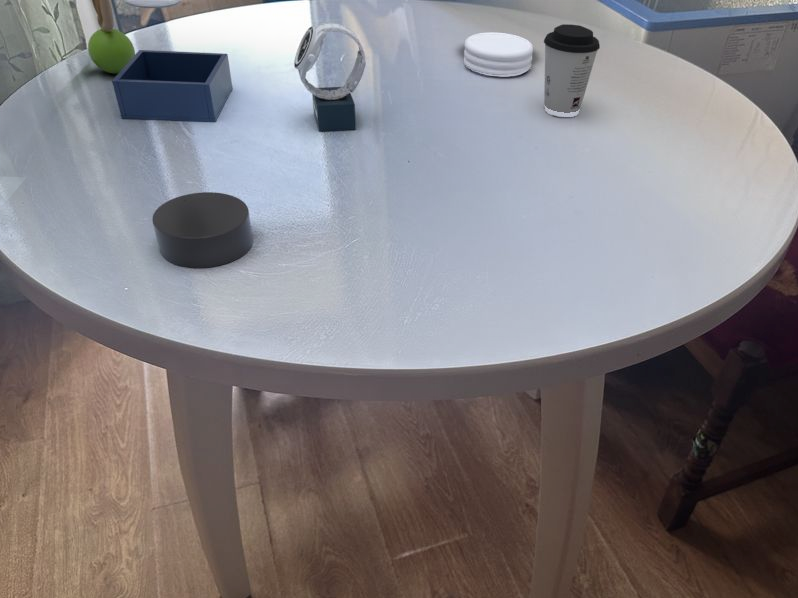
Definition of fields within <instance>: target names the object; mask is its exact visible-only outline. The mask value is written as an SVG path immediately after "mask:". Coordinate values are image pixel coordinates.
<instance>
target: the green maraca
mask: <svg viewBox="0 0 798 598" xmlns="http://www.w3.org/2000/svg"><path fill="white" fill-rule="evenodd" d="M91 3H92V5H93V8H94V10H95V13H96V15H97V16H96V19H97V24H98V26H99V28H100V29H97V30H96V31H94V32H93V34H92V35H91V36H90V38H89V40H88V43H87V46H88V47H87V49H88V51H87V52H88V55H89V57H90V59H91V61H92V62H93V64H94V65H95V66H96V67H97V68H99V69H100V70H102V71H103V72H105V73H108V74H115V75H118V73H119V72H120V71H121V70H122V69H123V68H124V67H125V66H126V64H127V63H128V62H129V61H130V60H131V59H132V58H133V57H134V55H135V54H136V51H135V46H134V45H133V42H132V40H131V39H130V38H129V37H128V36H127V34H125V33H124V32H122V31H120V30H118V29H115V28H114V27H115V22H114V13H113V8H112V5H111V1H110V0H91Z"/></svg>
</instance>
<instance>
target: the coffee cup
mask: <svg viewBox="0 0 798 598" xmlns="http://www.w3.org/2000/svg"><path fill="white" fill-rule="evenodd" d="M543 43H544V44H545V45H544V46H545V48H544V94H543V98H544V99H543V106H544V105H545V106H546V107H547V108H548V109H551V110H553V111H557V112H564V113H570V112H576V111H578V110H579V109H580V110H581V109H582V104H583V101H584V97H585V94H586V92H587V91H586V90H587V87H588V84H589V80H590V77H591V73H592V70H593V66H594V63H595V60H596V56H597V53H598V50H599V49H601V45H600V41H599V39H598V38H597V37H595V36H594V32H593V30H591V29H590V28H587V27H585V26H583V25H578V24H569V23H568V24H567V23H566V24H559V25H557V26H556V27H554V29H553V31H551V32H549V33H547V34H546V36H545V37H544V39H543Z"/></svg>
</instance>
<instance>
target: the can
mask: <svg viewBox="0 0 798 598" xmlns="http://www.w3.org/2000/svg"><path fill="white" fill-rule="evenodd" d="M123 1H124V2H125V3H126V4H127V5H129V6H132V7H136V8H141V9H165V8H171V7H176V6H178V5H180V4H181V2H182V0H123Z"/></svg>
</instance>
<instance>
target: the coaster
mask: <svg viewBox="0 0 798 598" xmlns="http://www.w3.org/2000/svg"><path fill="white" fill-rule="evenodd" d="M533 52H534V45H533V44H532V43H531V41H530V40H528V39H527V38H524V37H523V36H519V35H515V34H512V33H505V32H496V31H495V32H493V31H492V32H491V31H490V32H478V33H474V34H472V35H470V36H468V37H467V38H466V39H465V41H464V51H463V55H464V57H463V65H464V66H465V65H466V66H467V67H468V68H470V69H472V70H474V71H478V72H481V73H486V74H492V75H508V74H517V73H520V72H522V71H525V70H527V69H529V68H530V67H531V68H532V61H533ZM466 66H465V67H466ZM467 67H466V68H467ZM468 68H467V69H468ZM531 68H530V69H531Z"/></svg>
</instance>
